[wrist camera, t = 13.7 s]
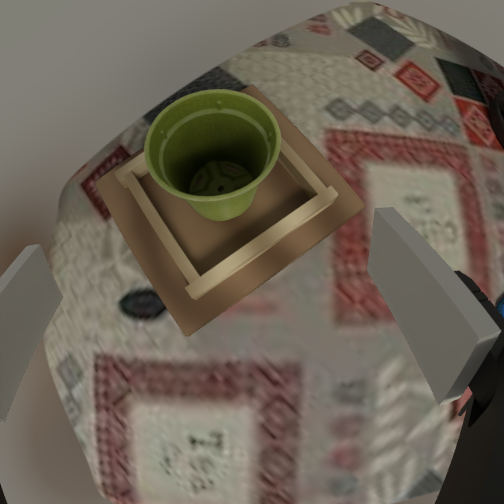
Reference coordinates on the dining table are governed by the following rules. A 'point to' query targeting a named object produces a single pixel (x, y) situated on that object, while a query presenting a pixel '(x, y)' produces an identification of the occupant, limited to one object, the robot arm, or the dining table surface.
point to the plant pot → (213, 150)
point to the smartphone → (501, 307)
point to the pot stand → (227, 226)
